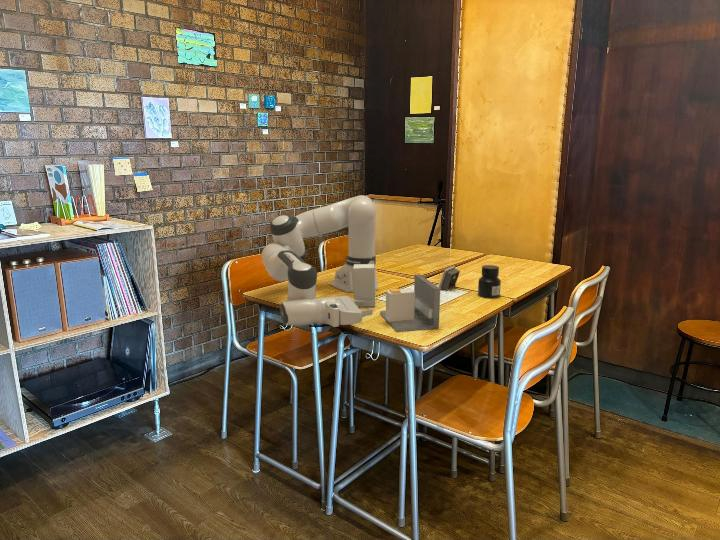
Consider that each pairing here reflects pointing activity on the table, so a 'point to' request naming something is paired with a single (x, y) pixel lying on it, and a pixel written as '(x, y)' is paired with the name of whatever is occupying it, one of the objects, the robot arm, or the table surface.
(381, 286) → the table surface
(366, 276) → the skincare box
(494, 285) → the ink bottle
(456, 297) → the table surface
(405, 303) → the module
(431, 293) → the grey l-shaped stand
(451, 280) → the electrical switch
